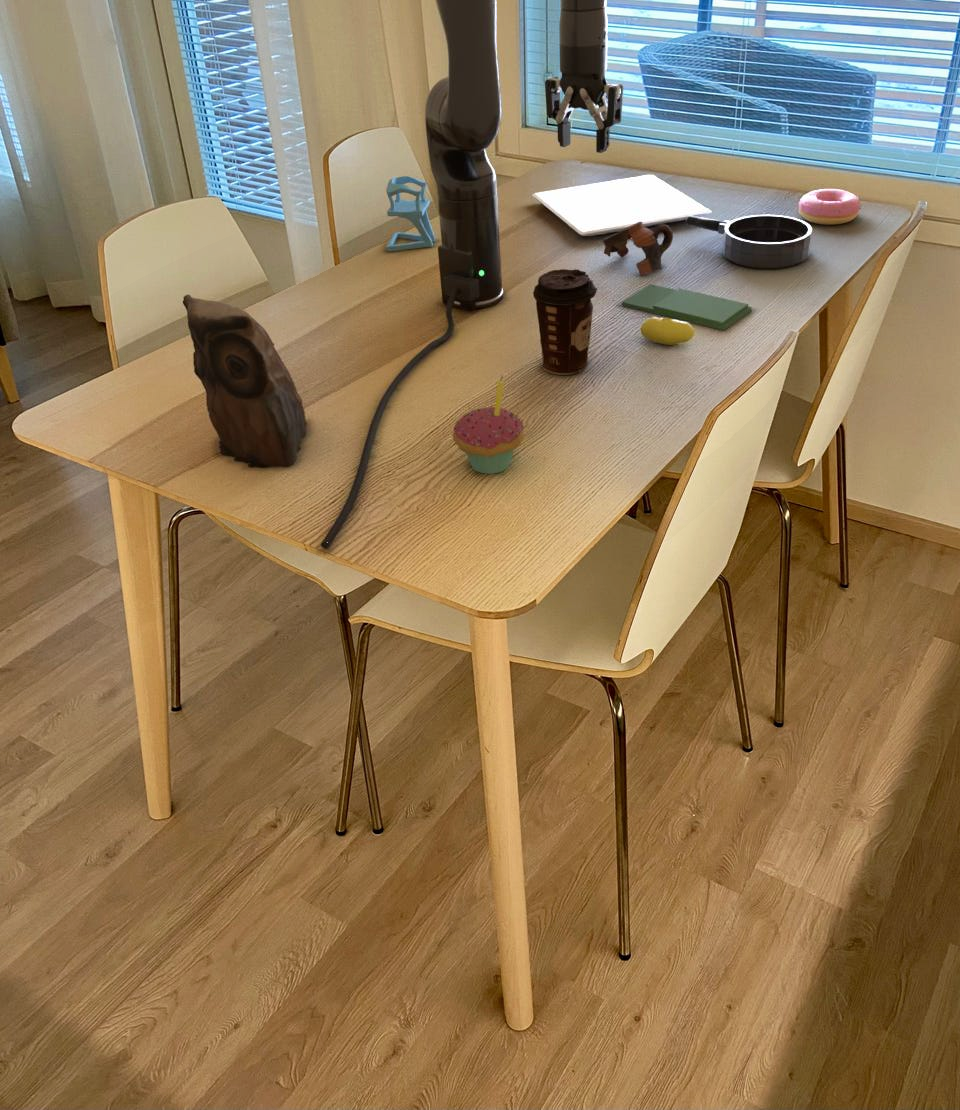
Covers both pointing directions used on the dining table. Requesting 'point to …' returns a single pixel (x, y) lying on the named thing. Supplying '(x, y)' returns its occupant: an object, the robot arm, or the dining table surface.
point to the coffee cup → (564, 319)
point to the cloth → (688, 306)
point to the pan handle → (707, 223)
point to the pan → (767, 241)
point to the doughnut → (829, 206)
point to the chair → (410, 213)
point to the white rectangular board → (619, 205)
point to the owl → (245, 385)
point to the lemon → (666, 330)
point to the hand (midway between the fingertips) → (583, 148)
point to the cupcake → (489, 436)
